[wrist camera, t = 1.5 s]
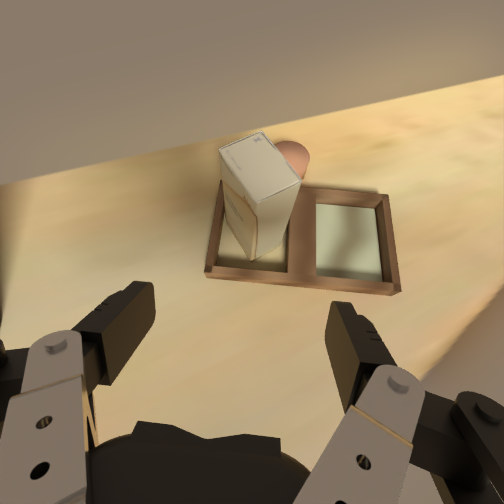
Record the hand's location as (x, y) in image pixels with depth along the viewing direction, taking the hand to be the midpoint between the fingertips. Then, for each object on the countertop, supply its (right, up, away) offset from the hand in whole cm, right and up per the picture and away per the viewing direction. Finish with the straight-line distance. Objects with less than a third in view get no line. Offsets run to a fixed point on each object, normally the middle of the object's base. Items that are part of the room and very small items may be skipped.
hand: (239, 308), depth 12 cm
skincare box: (+1, +5, +20) cm, 20 cm away
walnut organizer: (+6, +4, +20) cm, 21 cm away
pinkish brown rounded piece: (+5, +13, +24) cm, 28 cm away
